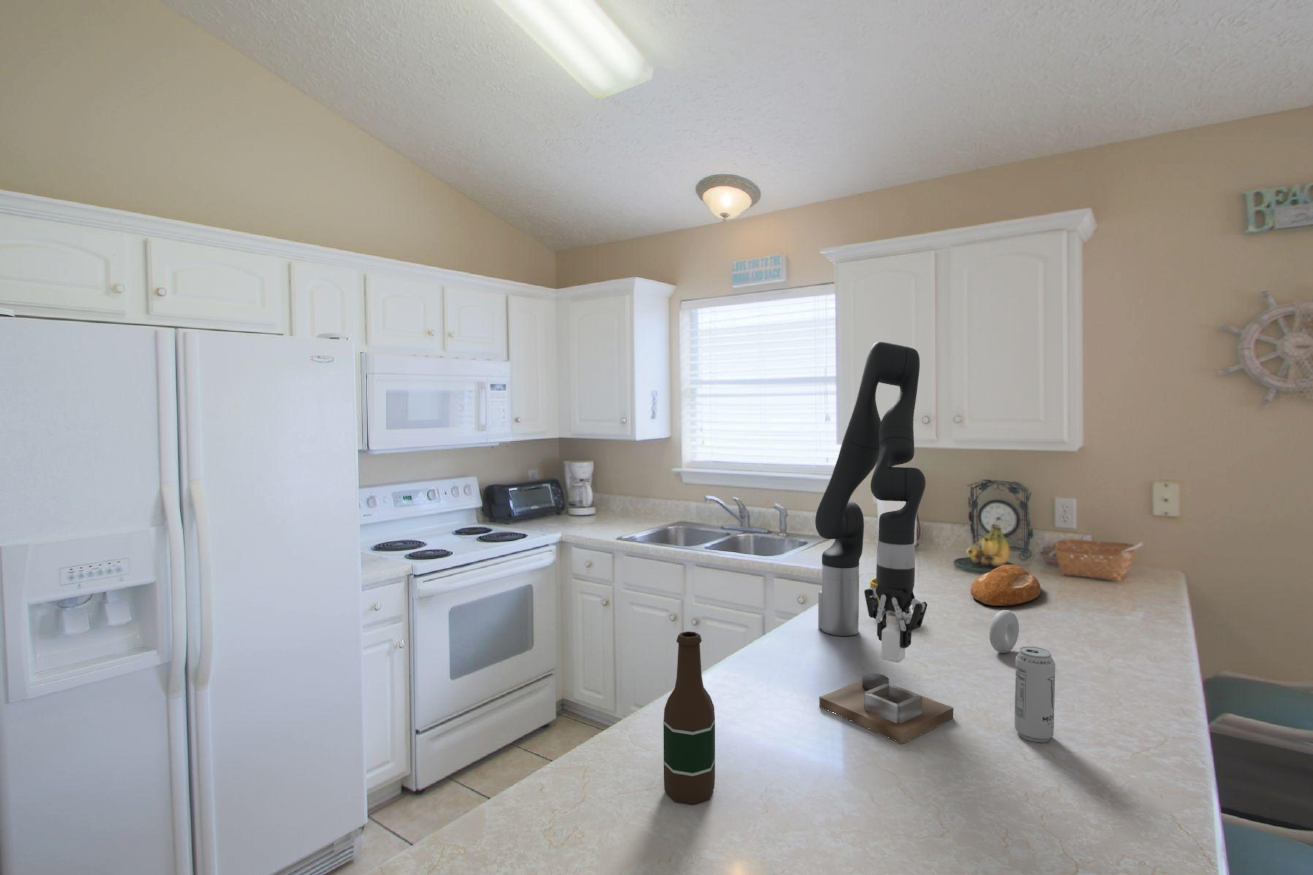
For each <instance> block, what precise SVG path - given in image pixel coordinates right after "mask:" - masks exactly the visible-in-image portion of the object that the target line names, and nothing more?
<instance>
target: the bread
mask: <svg viewBox="0 0 1313 875" xmlns="http://www.w3.org/2000/svg"><path fill="white" fill-rule="evenodd" d="M1040 594H1041V584H1040V581H1039V580H1038V578H1037V577H1036V576H1035V575H1033V574H1032V573H1030V572H1029V571H1028V570H1026V569H1024V568H1023V567H1021V566H1019V565H1016V564H1001V565H999V566H998V567H996V568H994V569H992V570H991V571H989V572H986V573H983V574H981V575H979V576H978V577H977V578H975V579H974V581H973V582H972V584H971V587H970V595H971V596H972V597H973V598H974V599H975V600H977V601H979V602H980V603H982V604H985V605H987V606H991V607H998V606H999V607H1000V606H1001V607H1002V606H1016V605H1020V604H1021V605H1022V604H1024V603H1025V604H1026V603H1028V602H1030V601H1033V600H1034V599H1036V598H1038V597H1039V595H1040Z"/></svg>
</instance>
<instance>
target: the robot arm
mask: <svg viewBox="0 0 1313 875" xmlns="http://www.w3.org/2000/svg"><path fill="white" fill-rule="evenodd" d="M920 358H921V357H920V354H919V352H918V350H916V349H915V348H913V347H909V346H905V345H899V344H895V343H891V342H885V341H877V342H874V344H873V345H872V347H871V348H870V349H869V352H868V354H867V357H866V360H865V365H864V369H863V372H862V373H863V374H862V376H861V381H860V384H859V388H858V389H859V390H858V393H857V397H856V400H855V404H854V407H853V411H852V413H851V416H850V420H849V422H848V425H847V428H846V430H845V433H844V437H843V439H842V443H841V446H840V448H839V454H838V457H837V460H836V461H835V466H834V468H833V470H832V474H831V476H830V480H829V482H828V485H827V487H826V489H825V490H824V491H825V492H824V494H823V496H822V498H821V501H820V503H819V504H818V506H817V510H816V514H815V519H814V520H815V521H814V522H815V524H814V525H815V528H816V529H815V530H816V532H817V533H818V535H819V536H820V537H821V538H823V539H825V540H834V542H833V543H832V545H830V546H829V547H828V548H827V549H825V550H824V551H823V552H822V553H821V590H819V592H818V599H817V600H818V603H817V604H818V609H817V610H818V611H817V612H818V613H817V615H818V616H817V618H818V621H817V624H818V627H817V628H818V629H821V631H823V632H824V633H826V634H829V635H832V636H838V637H839V636H840V637H850V636H856V635H858V633H859V629H860V628H859V623H860V622H859V620H860V619H859V618H860V613H859V612H860V610H859V609H860V608H859V607H860V560H861V557H862V555H863V550H864V549H863V547H864V532H865V520H864V514H863V511H862V509H861V507H860V505H858V503H856V502H854V501H850V499H851V497H852V495H853V493H854V492H855V490H856V489H857V488H858V487H859V485H861V483H863V481H864V480H866V478H867V477H868V476H869V475H870V473H871V472H872V471H873V469H874V471H873V473H872V476H871V480H870V491H871V493H872V495H873V497H874V498H876V500H879V501H886V502H887V501H888V502H890V501H891V502H905V504H904V506H903V507H901V508H900V509H897V510H892V511H886V512H883V513H881V514H880V516H879V519H878V543H877V549H876V574H875V576H876V577H875V578H876V582H877V584H878V585H877V587H876V589H875V588H870V587H869V588H867V589H864V591H863V592H864V598H865V604H866V608H867V612H868V616H869V617H870V618H871V619H872V618H873V619H874V620H875V622H876V624H877V626H876V635H877V637H878V640H879V641H880V642H882V630H883V629H884V628H885V627H886V625H887V623H886V614H887V613H888V612H891V611H893V612H895V613H896V616H897V619H898V620H899V622H900V626H901V630H900V647H901V648H905V649H906V648H909V646H911V644H912V631H915V630H917V629H920V628H921V627H922V624H923V621H924V617H925V614H926V611H927V608H928V603H927V602H926V601H920V600H918V599H916V597H915V594H914V587H915V579H916V578H915V577H916V576H915V575H916V574H915V573H916V549H915V535H916V534H915V532H916V531H915V529H916V528H915V527H916V519H917V515H918V510H919V507H920V504H921V500H922V498H923V495H924V494H925V491H926V490H925V489H926V486H927V485H926V484H927V482H926V477H925V474H924V473H923V471H922V470H920V469H919V468H917V467H909V466H907V467H903V466H901V467H900V465H904V464H906V463H909V462H910V461H912V460H913V459H914V457H915V436H914V421H915V420H914V416H915V409H916V402H917V394H918V387H919V386H918V385H919V380H920V379H919V376H920V367H921V366H920V365H921V363H920V362H921V359H920ZM879 383H880V384H885V385H891V386H895V387H898V388H899V391H900V392H899V396H898V397H897V399H896V400H895V401H894V403H893V404H892V405H891V406H890V408H889V409H888V410H886V413H884V415H883V416H882V418H880V414H879V410H878V406H877V401H876V398H877V396H876V395H877V388H878V385H879ZM896 466H897V467H896ZM877 597H878V598H879V600H880V604H878V599H877ZM910 606H911V607H912V608H911V607H910ZM911 610H912V611H913V612H912V611H911ZM902 612H904V614H902Z"/></svg>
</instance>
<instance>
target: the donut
mask: <svg viewBox="0 0 1313 875" xmlns="http://www.w3.org/2000/svg"><path fill="white" fill-rule="evenodd" d="M990 622H991V623H990V626H989V642H990V645H991V647H992V648H993V649H994V651H996V652H998V653H1000V654H1006V653H1009V652H1010V651H1012V650H1013V648H1014V647H1015V645H1016V643H1017V642H1018V638H1019V635H1020V634H1019V633H1020V624H1019V619H1018V617H1017V616H1016V614H1015V613H1014V612H1012V611H1011V610H1008V609H1007V610H1006V609H1002V610H1000V611H998V612H997V613H995V615H994V616H993V619H992V620H991V621H990Z"/></svg>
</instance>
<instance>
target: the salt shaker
mask: <svg viewBox="0 0 1313 875" xmlns="http://www.w3.org/2000/svg"><path fill="white" fill-rule="evenodd" d="M886 623H887V625H886V627H885V628H884V629H883V630H882V641H881V649H880V651H881V652H880V654H881V655H880V657H881V659H882V660H885V661H890V662H893V663H897V664H898V663H901V662H902V661H903V660H904V659H905V658H906V648H901V647H900V630H901V626H900V622H899V620H898V619H897V616H896V613H895V612H888V613H887V614H886Z"/></svg>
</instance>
